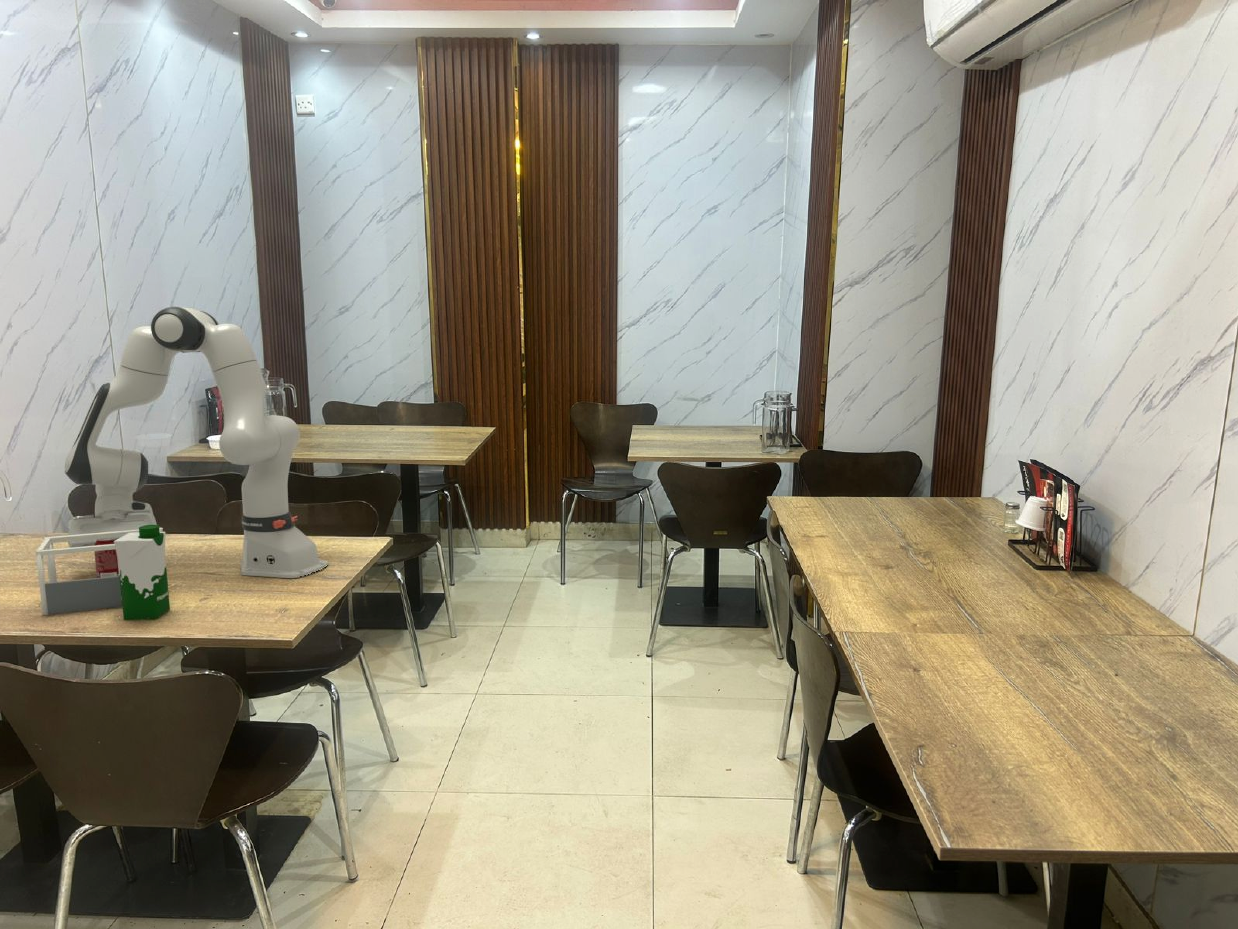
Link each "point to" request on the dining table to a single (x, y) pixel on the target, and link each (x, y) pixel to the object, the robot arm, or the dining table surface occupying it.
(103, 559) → the soda can
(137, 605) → the milk carton
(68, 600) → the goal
